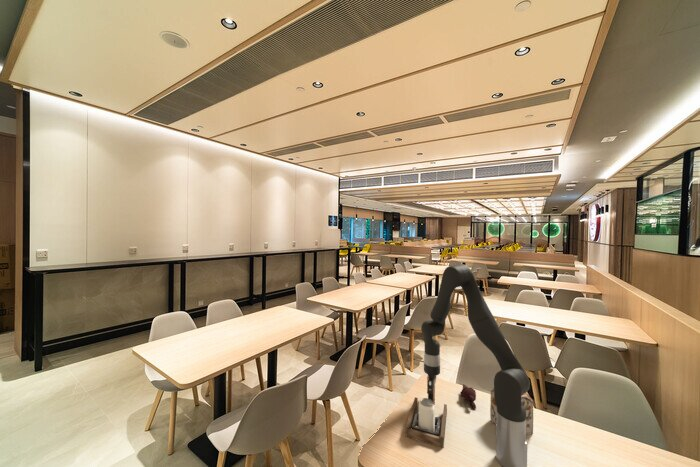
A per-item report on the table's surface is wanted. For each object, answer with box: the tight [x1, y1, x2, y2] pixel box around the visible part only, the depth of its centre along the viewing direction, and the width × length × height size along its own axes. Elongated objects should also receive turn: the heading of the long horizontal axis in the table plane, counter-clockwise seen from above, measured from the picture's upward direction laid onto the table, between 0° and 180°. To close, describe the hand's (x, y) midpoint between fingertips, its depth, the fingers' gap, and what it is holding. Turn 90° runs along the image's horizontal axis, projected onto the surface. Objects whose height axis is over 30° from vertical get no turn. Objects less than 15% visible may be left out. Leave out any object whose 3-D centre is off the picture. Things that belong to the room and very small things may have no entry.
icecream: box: [459, 384, 477, 410], centre depth 136 cm, size 7×7×15 cm
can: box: [417, 397, 436, 432], centre depth 114 cm, size 6×6×12 cm
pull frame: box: [411, 385, 442, 437], centre depth 122 cm, size 10×26×10 cm, turn 157°
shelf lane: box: [405, 397, 448, 449], centre depth 118 cm, size 14×22×4 cm, turn 157°
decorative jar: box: [489, 387, 534, 436], centre depth 118 cm, size 12×12×18 cm
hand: (431, 395), depth 132 cm, fingers open, 8 cm apart
